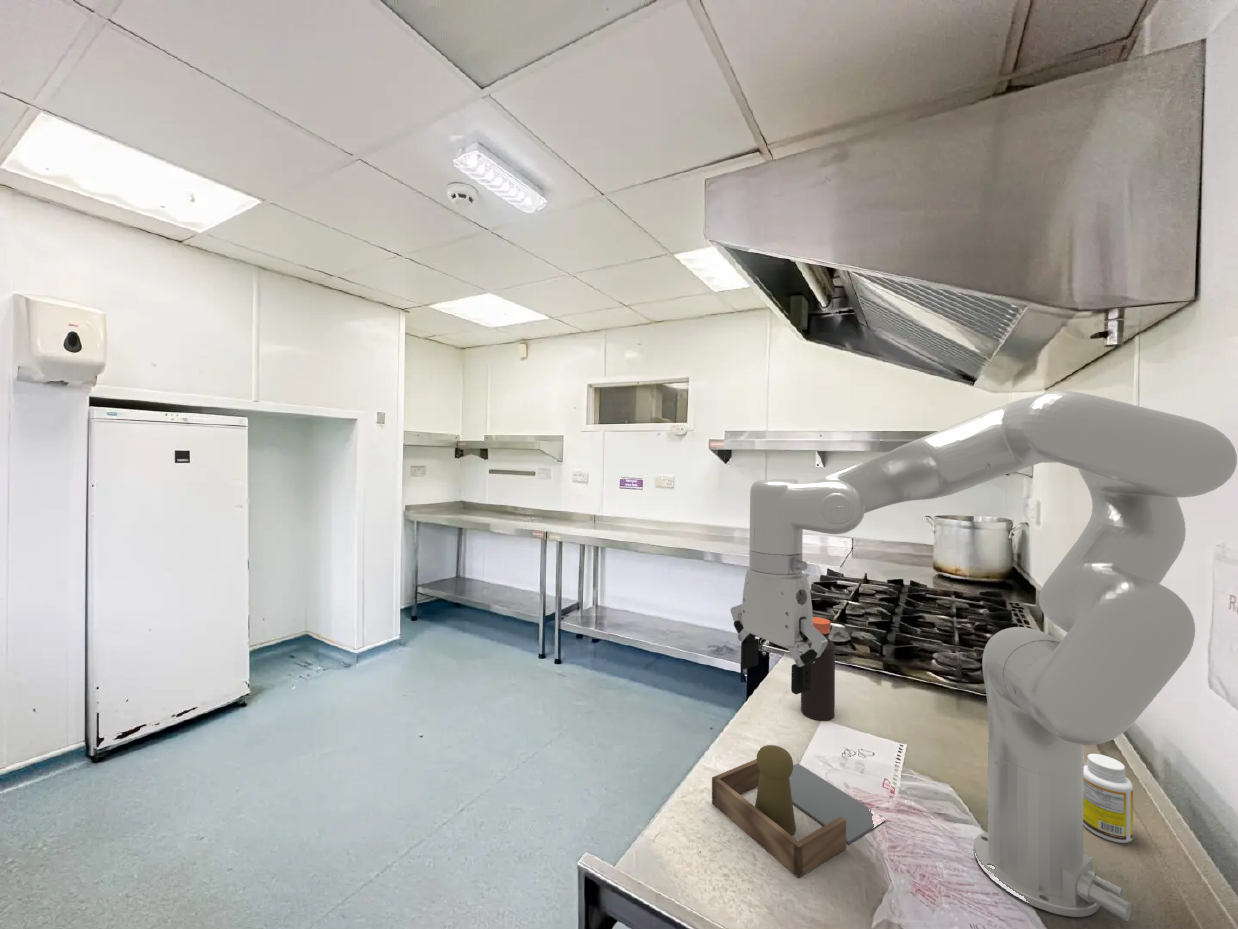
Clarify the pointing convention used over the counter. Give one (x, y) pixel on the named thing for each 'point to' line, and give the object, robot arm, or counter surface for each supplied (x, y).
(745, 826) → the wooden u-shaped frame
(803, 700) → the vinegar
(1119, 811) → the supplement bottle
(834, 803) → the charcoal mat
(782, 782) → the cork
